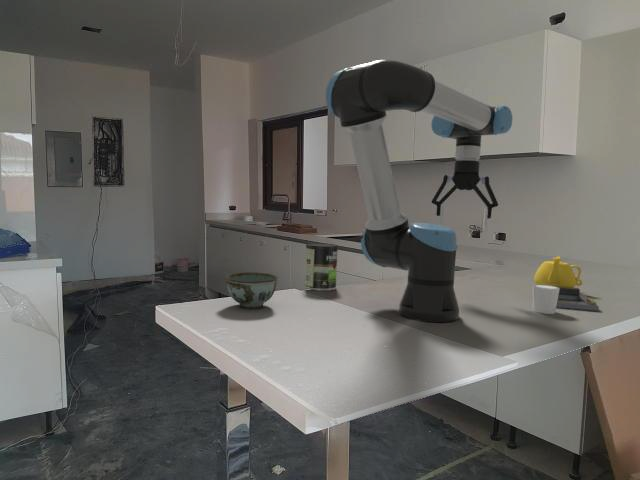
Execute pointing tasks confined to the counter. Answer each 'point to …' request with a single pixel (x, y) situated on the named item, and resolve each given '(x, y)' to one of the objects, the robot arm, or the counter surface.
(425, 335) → the counter surface
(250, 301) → the bowl
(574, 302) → the chassis plate
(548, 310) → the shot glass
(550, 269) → the teapot
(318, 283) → the coffee can
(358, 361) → the counter surface
